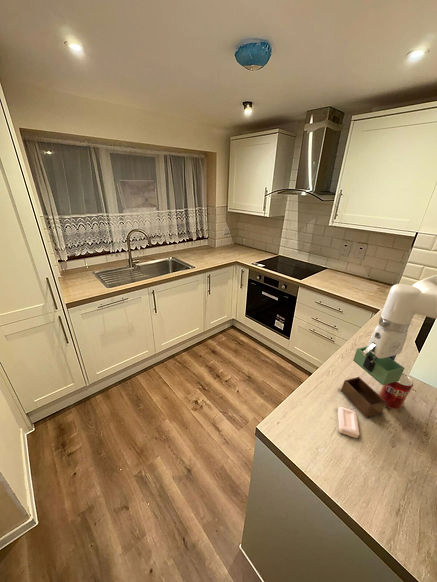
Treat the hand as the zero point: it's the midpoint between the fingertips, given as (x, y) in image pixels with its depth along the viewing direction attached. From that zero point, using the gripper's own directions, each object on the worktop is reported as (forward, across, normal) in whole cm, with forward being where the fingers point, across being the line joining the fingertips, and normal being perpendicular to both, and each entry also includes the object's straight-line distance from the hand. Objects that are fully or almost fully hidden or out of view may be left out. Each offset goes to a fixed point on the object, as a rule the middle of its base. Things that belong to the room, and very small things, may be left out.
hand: (376, 366), depth 80 cm
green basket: (+2, 0, 0) cm, 2 cm away
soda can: (+17, +10, -3) cm, 20 cm away
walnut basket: (+17, 0, 0) cm, 17 cm away
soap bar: (+17, -12, -6) cm, 22 cm away
